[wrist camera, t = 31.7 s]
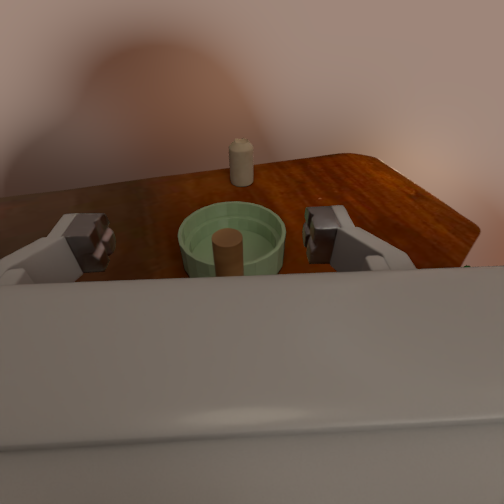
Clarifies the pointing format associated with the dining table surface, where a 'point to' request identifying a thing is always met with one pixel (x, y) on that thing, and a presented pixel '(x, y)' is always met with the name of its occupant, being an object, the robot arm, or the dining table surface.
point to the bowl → (245, 221)
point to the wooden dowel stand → (228, 252)
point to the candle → (241, 162)
